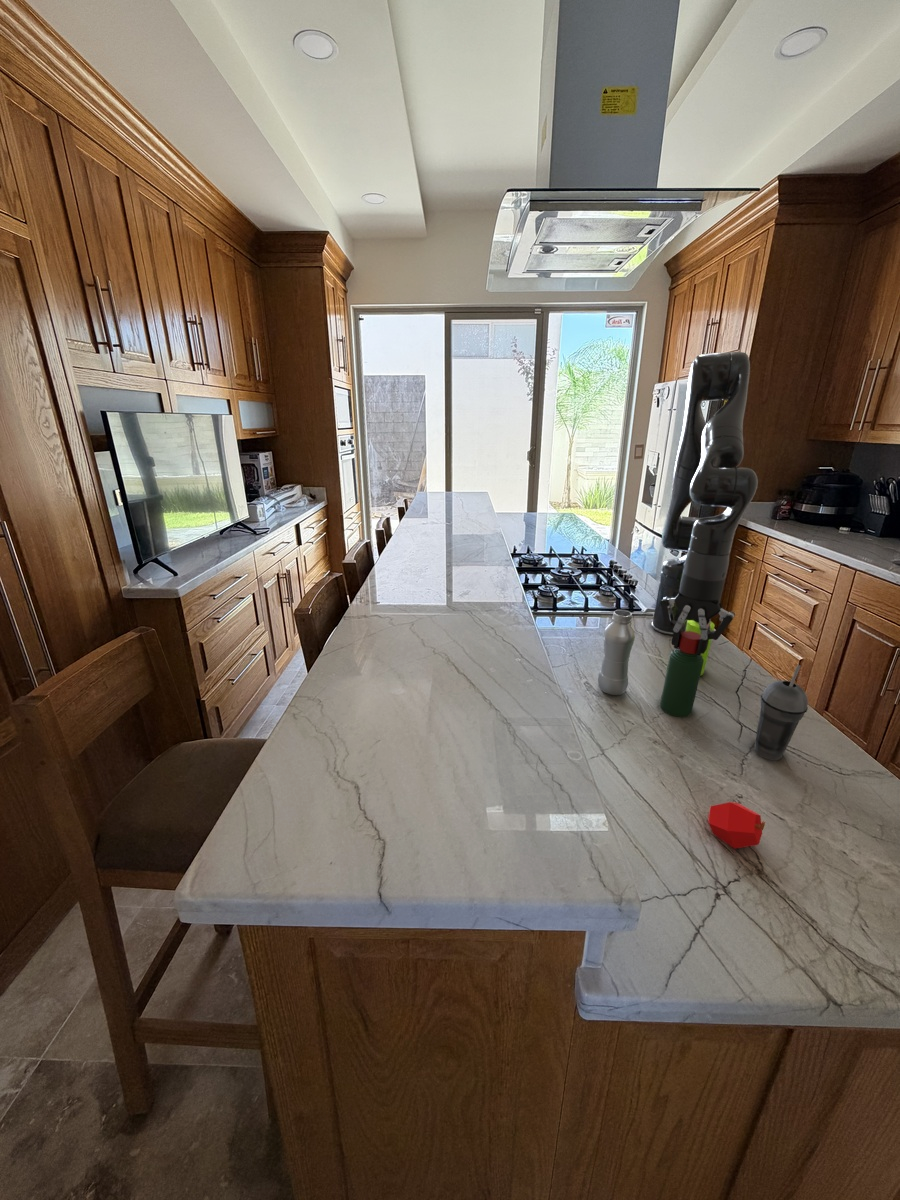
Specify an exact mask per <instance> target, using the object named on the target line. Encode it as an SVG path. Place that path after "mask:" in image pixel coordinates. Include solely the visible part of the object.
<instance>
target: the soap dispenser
mask: <svg viewBox="0 0 900 1200" xmlns="http://www.w3.org/2000/svg"><path fill="white" fill-rule="evenodd" d="M715 626H716V624H715V623H714V622H713V621H711V625H710V629H711V631H715ZM686 631H692V632H696V633H698V634H700V635H701V631H700V628H699V623H698V622H695V621H693V620H688V621H687V626H686ZM712 640H713V639H709V642H708V646H707V650H706V651H705V652H704V654H701V655H702V657H703V659H704V662H703V666H702V670H701V674H700V677H702V676H703V675H704V674H705V669H706V665H707V662H708V661H707V660H708V657H709V652H710V648H711V644H712Z"/></svg>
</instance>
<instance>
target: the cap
mask: <svg viewBox="0 0 900 1200" xmlns="http://www.w3.org/2000/svg"><path fill="white" fill-rule="evenodd" d="M700 638H701V635H700V634H698V633H696V632H692V631H684V632H682V633H681V637H680V642H679V647H678V648H679V650H681V651H682V652H685V653H689V654H696V653H697V648H698V644H699V639H700Z"/></svg>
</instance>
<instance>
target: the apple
mask: <svg viewBox="0 0 900 1200" xmlns="http://www.w3.org/2000/svg"><path fill="white" fill-rule="evenodd" d="M707 822H708V825H709V827H710V830H711V832H712V835H714V836H715V837H717V838H718V839H719V840H721V841H722V842H724V843H725V844H726V845H728V846H730V847H731V848H733V849H734V850H736V849H742V848H747V847H752V846H758V845H760V841H761V839H762V835H763V831H764V828H765V825H766V821H764V820H762V818H761V815H760V814H759V813H757V812H756V811H754V810H751V809H749V808H748V807H746V806H744V805H742V804H741V803H739V802H733V801H732V802H731V801H729V802H724V803H720V804H713V805H710V806H709V811H708V821H707Z"/></svg>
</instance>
